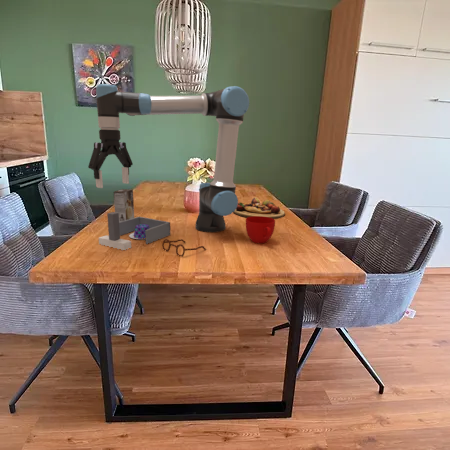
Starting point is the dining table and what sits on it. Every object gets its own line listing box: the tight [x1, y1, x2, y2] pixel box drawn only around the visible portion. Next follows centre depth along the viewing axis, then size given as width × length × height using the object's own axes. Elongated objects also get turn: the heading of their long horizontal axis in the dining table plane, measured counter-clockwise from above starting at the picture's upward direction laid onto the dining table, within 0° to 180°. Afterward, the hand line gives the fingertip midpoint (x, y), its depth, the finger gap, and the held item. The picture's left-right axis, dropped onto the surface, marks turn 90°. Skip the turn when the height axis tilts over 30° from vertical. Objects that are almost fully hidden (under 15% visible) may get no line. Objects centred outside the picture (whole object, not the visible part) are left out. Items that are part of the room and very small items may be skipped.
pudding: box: [128, 224, 150, 240], centre depth 145 cm, size 12×12×5 cm
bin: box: [119, 216, 171, 245], centre depth 145 cm, size 19×16×6 cm
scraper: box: [98, 211, 132, 251], centre depth 129 cm, size 14×4×14 cm, turn 62°
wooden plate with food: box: [233, 197, 286, 220], centre depth 196 cm, size 32×32×8 cm
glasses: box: [161, 238, 207, 257], centre depth 130 cm, size 13×13×5 cm
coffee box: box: [113, 188, 135, 222], centre depth 168 cm, size 9×6×16 cm
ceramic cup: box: [245, 216, 276, 244], centre depth 141 cm, size 13×17×10 cm
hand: (113, 185), depth 126 cm, fingers open, 13 cm apart
